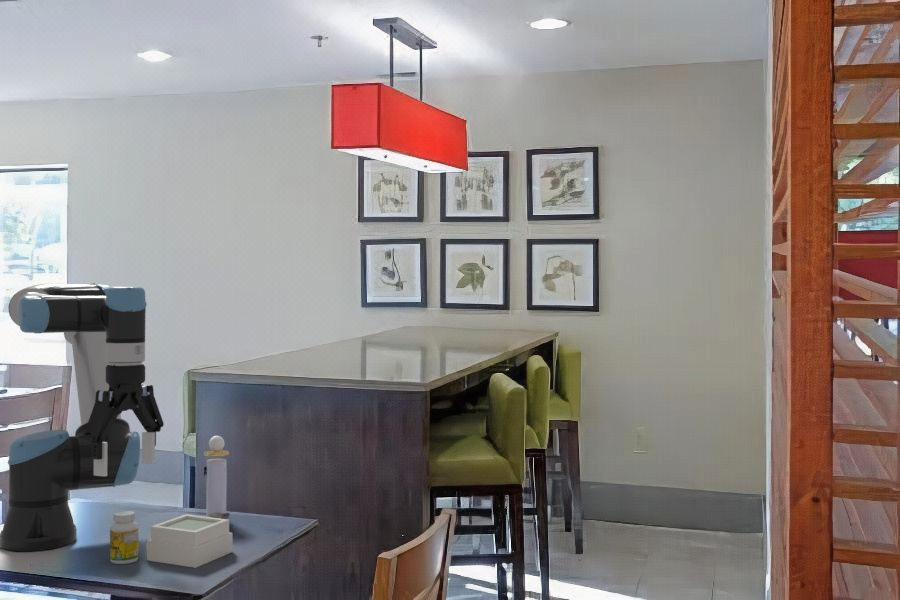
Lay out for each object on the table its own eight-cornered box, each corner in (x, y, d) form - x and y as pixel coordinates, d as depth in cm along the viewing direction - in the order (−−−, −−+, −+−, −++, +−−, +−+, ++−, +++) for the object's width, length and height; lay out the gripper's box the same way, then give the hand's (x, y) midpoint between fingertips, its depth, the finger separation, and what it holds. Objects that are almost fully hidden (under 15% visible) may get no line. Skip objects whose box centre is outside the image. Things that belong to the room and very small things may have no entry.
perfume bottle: (234, 519, 220) (234, 435, 220) (216, 524, 215) (217, 438, 215) (215, 516, 223) (216, 433, 223) (198, 521, 218) (198, 436, 218)
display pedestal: (146, 560, 187) (147, 526, 187) (185, 545, 198) (185, 513, 198) (195, 567, 182) (195, 533, 182) (232, 551, 193) (232, 519, 193)
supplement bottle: (143, 560, 187) (143, 513, 187) (117, 566, 183) (117, 517, 183) (130, 555, 190) (130, 508, 190) (105, 560, 187) (105, 512, 187)
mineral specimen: (234, 537, 208) (236, 518, 208) (179, 539, 203) (181, 520, 203) (227, 529, 214) (229, 511, 214) (174, 531, 209) (175, 512, 209)
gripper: (94, 369, 173) (94, 482, 173) (181, 360, 196) (180, 460, 197) (63, 367, 176) (63, 479, 176) (152, 358, 199) (152, 457, 199)
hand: (125, 469), depth 186 cm, fingers open, 13 cm apart
